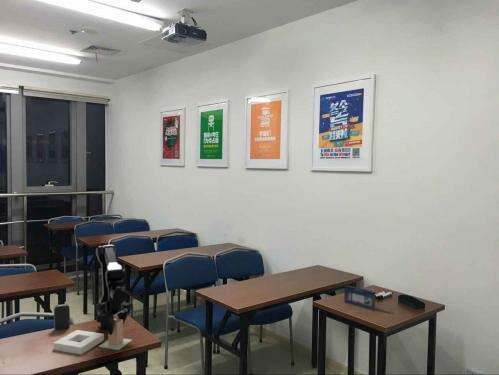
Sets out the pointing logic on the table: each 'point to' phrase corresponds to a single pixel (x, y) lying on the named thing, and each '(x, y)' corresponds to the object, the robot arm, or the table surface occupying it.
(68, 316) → the battery charger
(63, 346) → the dock
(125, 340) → the mat
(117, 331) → the peg
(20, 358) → the table surface
